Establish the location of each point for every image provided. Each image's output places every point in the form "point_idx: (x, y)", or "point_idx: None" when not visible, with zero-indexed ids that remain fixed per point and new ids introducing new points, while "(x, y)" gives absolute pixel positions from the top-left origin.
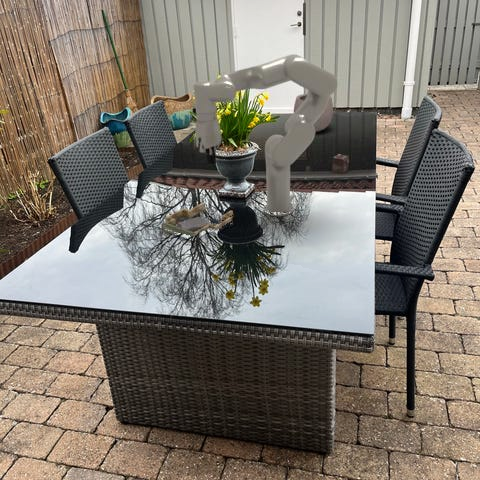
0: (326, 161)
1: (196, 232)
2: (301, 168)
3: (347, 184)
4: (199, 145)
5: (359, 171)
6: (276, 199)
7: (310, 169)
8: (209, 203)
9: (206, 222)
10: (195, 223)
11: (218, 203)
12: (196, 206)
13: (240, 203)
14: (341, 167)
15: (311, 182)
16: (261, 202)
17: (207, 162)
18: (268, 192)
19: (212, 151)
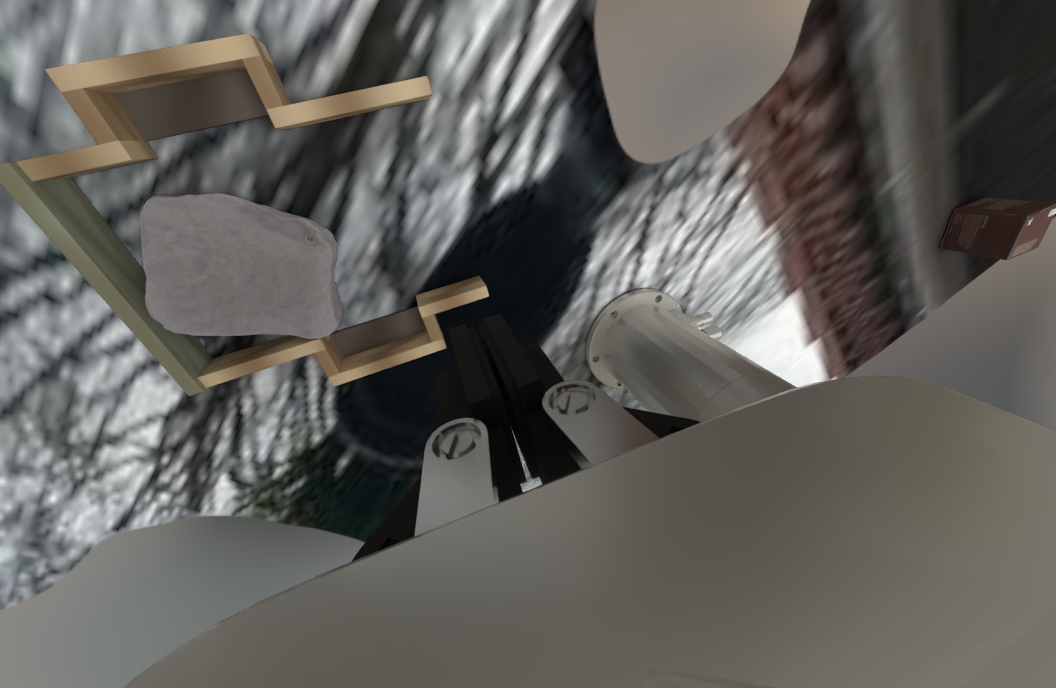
0: (1045, 113)
1: (219, 381)
2: (982, 83)
3: (864, 318)
4: (252, 667)
5: (956, 270)
6: (634, 397)
7: (971, 126)
8: (492, 39)
9: (315, 323)
10: (249, 305)
11: (528, 89)
12: (359, 94)
13: (596, 184)
14: (967, 246)
15: (860, 230)
16: (651, 244)
17: (449, 331)
18: (645, 380)
19: (557, 477)
